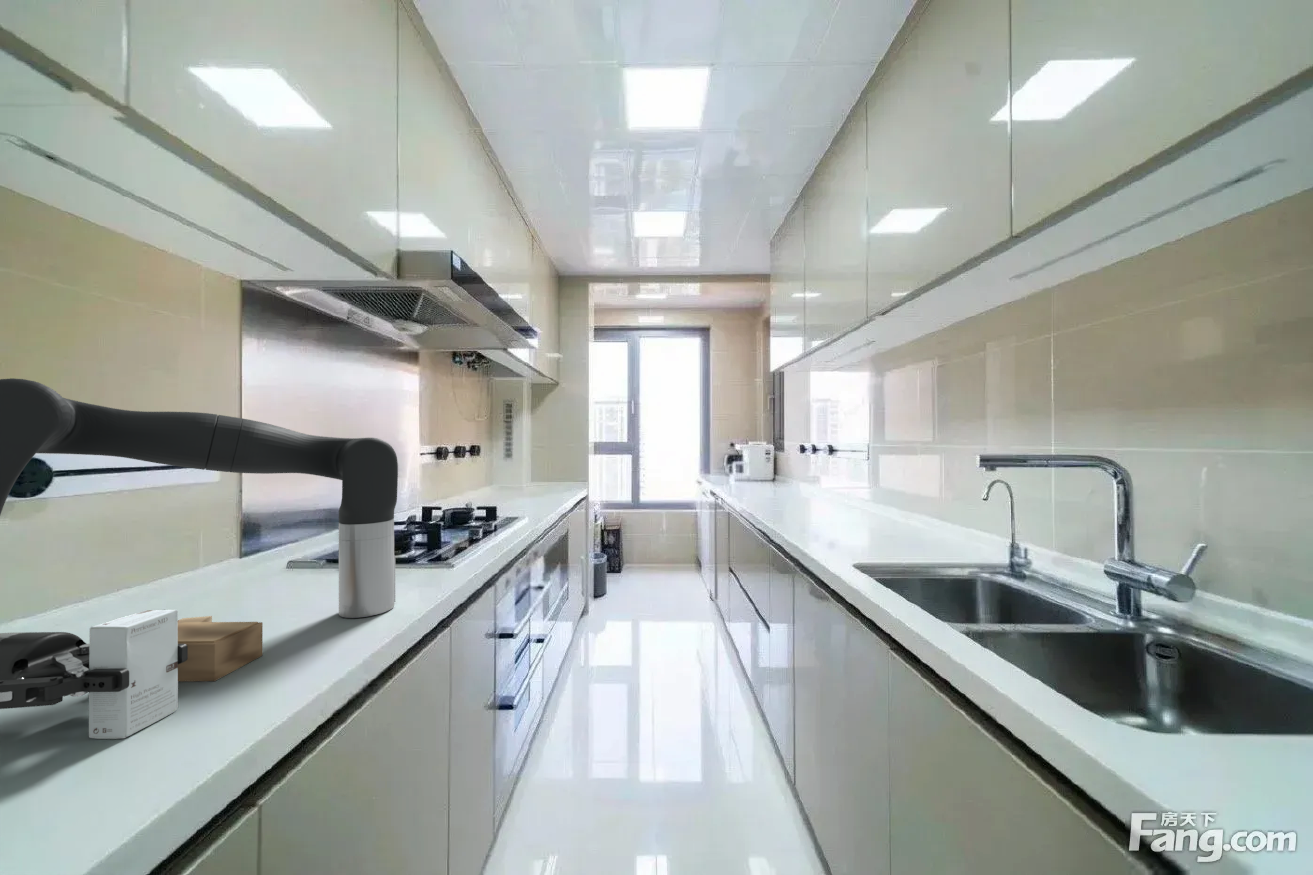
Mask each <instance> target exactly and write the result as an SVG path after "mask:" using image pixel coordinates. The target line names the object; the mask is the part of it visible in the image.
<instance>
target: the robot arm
mask: <svg viewBox="0 0 1313 875" xmlns="http://www.w3.org/2000/svg"><path fill="white" fill-rule="evenodd" d="M36 454H50V455H51V454H53V455H54V454H56V455H57V454H58V455H84V456H86V455H89V456H105V457H117V458H124V459H125V458H126V459H132V460H135V461H136V460H137V461H143V462H148V463H153V464H160V465H166V466H172V467H181V468H189V469H195V470H202V471H204V470H205V471H212V472H222V473H223V472H225V473H236V474H255V475H256V474H262V475H263V474H304V475H311V476H312V475H313V476H316V477H317V476H319V477H324V478H330V479H333V480H334V479H335V480H339V481H341V502H340V506H339V509H338V616H340V617H342V618H346V619H354V618H365V617H371V616H376V615H380V614H383V613H386V612H388V611H390V610H392V609H393V608H394V607H395V603H396V556H395V509H396V505H397V502H398V501H397V500H398V487H399V486H398V481H399V480H398V478H399V476H398V474H399V473H398V472H399V463H398V457H397V453H396V450H395V449H394V447H393V446H392V445H391V444H390V443H389V442H387V441H385V440H384V439H381V438H378V437H357V438H350V437H348V438H347V437H332V436H323V435H321V436H320V435H312V434H307V433H304V432H299V431H296V430H292V429H288V428H286V427H282V426H278V425H274V424H270V423H266V422H263V421H258V420H253V419H247V418H242V417H236V416H229V415H222V414H217V413H209V412H198V411H197V412H195V411H144V410H143V411H139V410H128V409H121V408H120V409H119V408H115V407H114V408H113V407H108V406H104V405H99V404H91V403H87V402H82V401H78V400H73V399H70V398H65V397H63V396H62V395H61V394H59V393H58V392H57V391H56V390H54V389H53V388H51V387H49V386H47V385H45V384H43V383H41V382H38V381H35V380H29V379H25V378H11V377H10V378H1V379H0V516H1V514H2V511H3V509H4V506H5V504H6V501H7V499H8V496H9V494H10V493H11V490H12V488H13V486H14V485H15V483H16V482H17V479H18V478H19V476H20V475H21V473H22V472H23V470H24V469H25V467H26V466H27V464H28V463H29V462H30V461H31V460H32V459H33V458H34V456H35V455H36ZM89 646H90V643H87V642H85V641H84V640H83V639H82V638H81V637H80V636H78V635H76V634H74V633H71V632H67V631H43V632H42V631H41V632H40V631H39V632H37V631H34V632H32V631H31V632H25V631H24V632H21V631H20V632H0V710H5V709H18V708H19V709H20V708H21V709H22V708H32V707H34V708H35V707H46V706H55V705H58V704H59V703H61V702H63V701H64V697H68V696H71V697H81V696H84V695H86V694H87V693H88V694H89V692H119V691H122V690H124V689H126V688H128V687H129V670H128V669H126V668H110V669H93V670H91V671H89ZM187 659H188V647H187V645H186V644H178V664H181V663H183V662H185V661H186V660H187Z"/></svg>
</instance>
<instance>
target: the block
mask: <svg viewBox="0 0 1313 875" xmlns="http://www.w3.org/2000/svg"><path fill="white" fill-rule="evenodd" d="M184 622H213V615H207V616H205V615H204V616H195V617H193V616H192V617H182V618H180V619H179V620H178V624H181V623H184Z"/></svg>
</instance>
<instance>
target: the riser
mask: <svg viewBox="0 0 1313 875" xmlns="http://www.w3.org/2000/svg"><path fill="white" fill-rule="evenodd" d="M178 644H186V645H187V647H188V659H187V660H186V661H185V662H183V663H181V664H178V683H179V682H216V681H217V680H219V679H222V678H224V677H225V676H227V675H228V674H229V675H230V674H231V673H232V672H234V671H237V670H238V669H240V668H242V667H244V666H245V665H248V664H249V663H251V662H253V661H255V660H257V659H258V658H260V657H262V656H263V622H261V621H260V622H259V621H212V622H184V623H181V624H178Z"/></svg>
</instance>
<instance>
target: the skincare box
mask: <svg viewBox="0 0 1313 875" xmlns="http://www.w3.org/2000/svg"><path fill="white" fill-rule="evenodd" d="M178 612H179V611H178V609H157V610H156V609H151V610H142V611H139V612H136V613H132V614H130V615H129V614H128V615H126V616H122V617H118V618H115V619H112V620H109V621H107V622H103V623H99V624H96V625H93V626H90V628H89V644H90V646H89V671H91V670H93V669H110V668H126V669H128V670H129V687H128V688H126V689H124V690H122V691H119V692H88V738H89V739H96V740H97V739H98V740H106V739H107V740H110V739H111V740H115V739H116V740H119V739H126V738H128V737H130V736H132V735H134V734H135V733H137V732H139V731H141V730H143V729H144V728H147V727H149V726H150V725H151V726H152V724H155V723H157V722H158V721H160V720H162V719H164V718H166V717H168V716H169V715H171V714H173V713H174V712H176V711H177V710H178V708H179V701H178V699H179V689H178V688H179V682H178V619H179V618H178Z"/></svg>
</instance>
